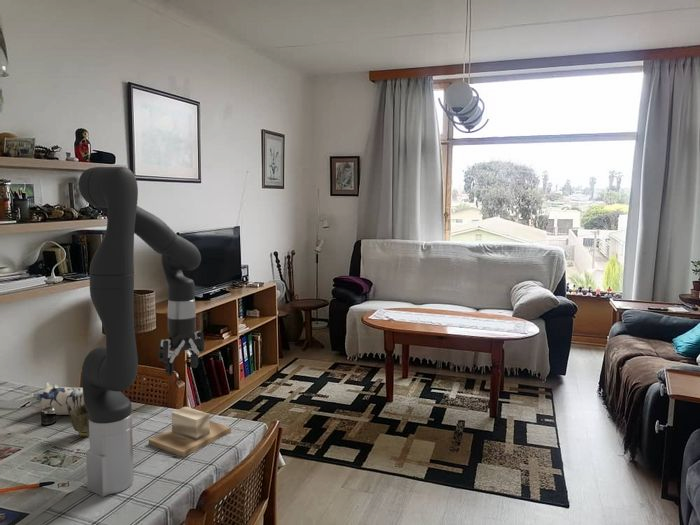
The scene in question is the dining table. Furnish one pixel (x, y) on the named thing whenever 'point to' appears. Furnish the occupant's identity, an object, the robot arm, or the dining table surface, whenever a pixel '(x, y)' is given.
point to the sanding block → (191, 423)
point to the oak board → (187, 440)
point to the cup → (80, 420)
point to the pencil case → (61, 398)
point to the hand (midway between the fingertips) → (182, 371)
